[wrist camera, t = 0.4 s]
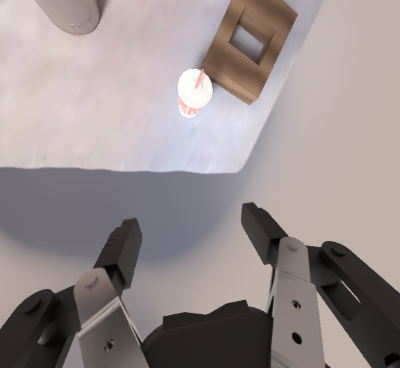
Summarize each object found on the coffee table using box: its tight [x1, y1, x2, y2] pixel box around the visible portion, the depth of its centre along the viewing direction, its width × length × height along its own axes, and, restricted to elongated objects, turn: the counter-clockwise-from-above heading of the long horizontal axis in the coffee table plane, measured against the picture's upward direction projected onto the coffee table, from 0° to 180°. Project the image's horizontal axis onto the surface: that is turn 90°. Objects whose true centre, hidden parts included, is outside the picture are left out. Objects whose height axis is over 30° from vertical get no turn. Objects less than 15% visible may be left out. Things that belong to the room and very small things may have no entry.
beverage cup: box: [178, 69, 213, 117], centre depth 28 cm, size 6×6×14 cm
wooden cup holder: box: [201, 0, 298, 105], centre depth 33 cm, size 20×14×4 cm
